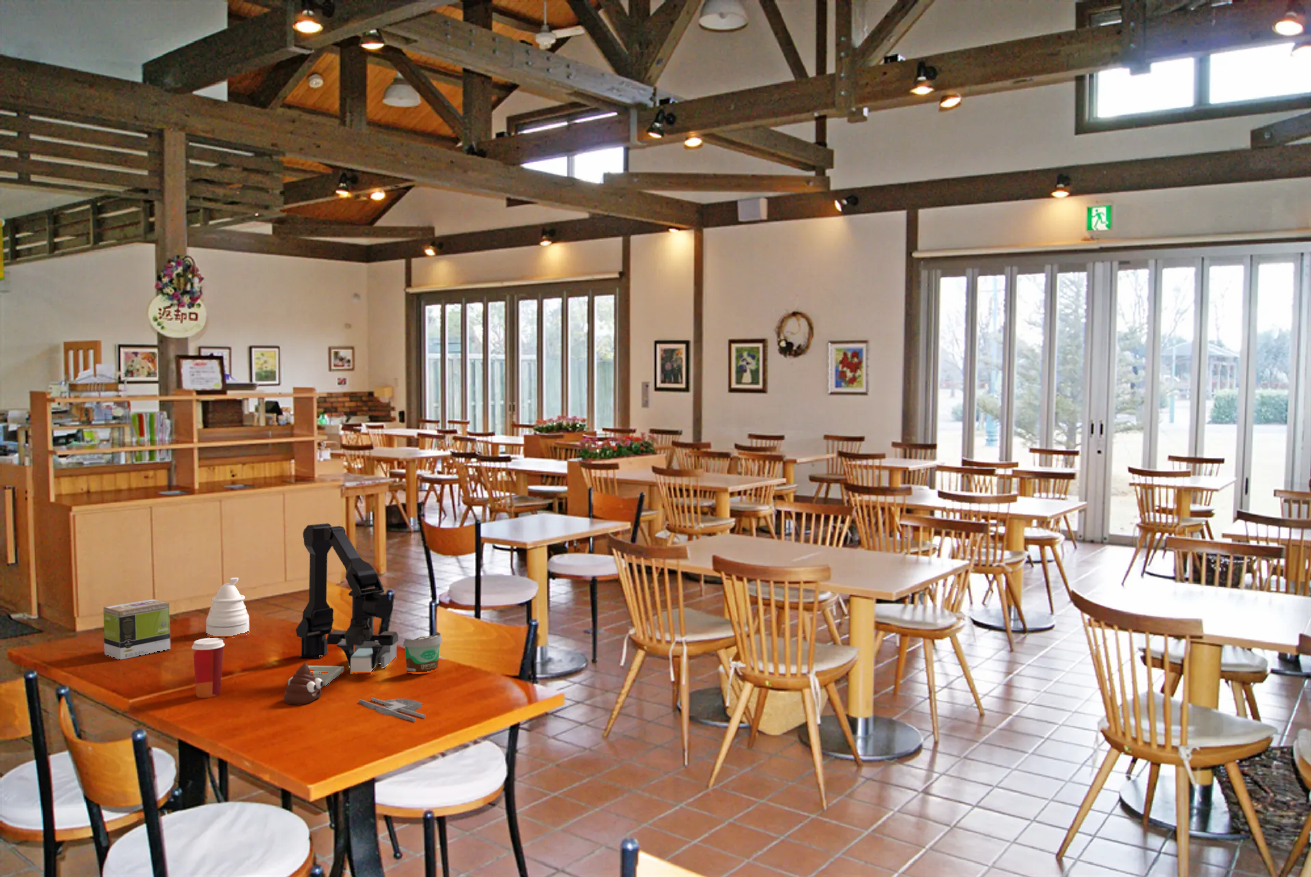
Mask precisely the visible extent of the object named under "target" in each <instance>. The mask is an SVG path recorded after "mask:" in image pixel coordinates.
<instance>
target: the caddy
mask: <svg viewBox="0 0 1311 877" xmlns="http://www.w3.org/2000/svg"><path fill="white" fill-rule="evenodd" d="M372 653H373V650H372V648H359V649H358V650H357V651H356V652H355V653H354V654H353V655H352V656H351V668H350V673H351V672H371V671H372V670H373V669H372ZM377 664H378V659H377V662H376V665H377ZM376 665H375V666H376ZM377 666H378V665H377ZM373 671H374V670H373Z"/></svg>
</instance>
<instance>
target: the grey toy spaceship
mask: <svg viewBox="0 0 1311 877" xmlns="http://www.w3.org/2000/svg"><path fill="white" fill-rule="evenodd" d="M371 700H372V701H371ZM374 701H375V702H374ZM372 702H374V703H372ZM377 702H378V703H377ZM375 703H377V704H375ZM358 704H359V705H362V706H364V707H366V708H368V709H371V710H375V712H377V713H378V714H382V715H385V716H392V717H395V718H399V719H403V720H405V721H407V720H408V721H410V722H413V723H415V722H416V717H419V718H421V719H426V714H425V713H424V714H423V713H420V712H417V710H418V709H421V708H423V706H424V704H423V703H422V702H419V701H417V700H413V699H411V698H410V699H409V698H408V699H407V698H395V699H387V700H385V699H384V700H382V699H377V698H376V697H375V698H374V697H373V696H372V697H371V698H370V702H369V701H367V700H363V699H361V698H359V699H358ZM379 704H380V705H379ZM383 704H384V705H383ZM422 704H423V705H422ZM381 705H383V706H381ZM400 712H401V713H400ZM410 715H412V716H415V717H412V716H410Z"/></svg>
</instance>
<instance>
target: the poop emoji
mask: <svg viewBox="0 0 1311 877" xmlns="http://www.w3.org/2000/svg"><path fill="white" fill-rule="evenodd" d="M308 666H309V665H308V663H307V662H304V663H303V664H302V665H301V666H300V667H299V668H298V669H297V670H296V671H295V673H294V674H293V676H292V677H293V678H292V679H291V680H290V684H289V685H288V684H287V686H286V688H285V693H284V695H283V699H284V700H283V701H284V702H285V703H286V704H287V705H293V706H301V705H302V704H303V705H307V704H310V703H312V702H313V701H315V700H317V699H319V698H321V696H322V690H321V688H322V687H323V682H322V680H321V679H320V678H316V679H315V677H314V676H313V673H311V672H310V669H309V667H308Z"/></svg>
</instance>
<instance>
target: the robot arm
mask: <svg viewBox="0 0 1311 877" xmlns="http://www.w3.org/2000/svg"><path fill="white" fill-rule="evenodd" d="M302 537H303V545H304V547H305V548H306V550H307V552H308V553H309V575H308V576H309V577H308V578H309V585H308V587H309V588H308V603H307V604H306V606H305V607H304V610H303V611H302V618H301V621H300V622H299V624H298V626H297V627H296V628H295V633H296V637H298V638H300V639H301V642H300V643H301V649H300V650H301V651H300V652H301V654H299V656H298V658H300V659H302V657H319V655H324V656H326V655H327V654H328V653H329V651H328V645H336V647H337V648H340V649H341V650H342V651H343V653H344V654H345V657H346V659H347V664H348V663H349V665H350V668H349V669H351V656H352V655H353V654H354V651H355V645H357V646H360V645H362V644H363V643H364V641H374V643H375V645H373V646H372V650H373V653H372V669H374V667H375V665H376V662H377V659H378V657H379V654H380V652H381V650H382V648H383V647H384V646H391V645H394V644H395V643H396V644H397V642H398V641H399V634H398V632H397V631H386V630H385V631H383V632H381V633H380V634H375V628H374V619H375V618H377V619H387V618H388V617H389V616H390V615H391V614H392V612H393V610H394V608H393V607H394V605H393V602H392V600H391V599H390V598H387V593H385V589H384V585H383V583H382V582H381V579H380V577H379V575H378V572H377V570H376V569H375V568H374V566H372V565H371V564H370V563H369V562H366V561H364V560H363V559H362V557H361V556H360V554H359V552H358V551H357V550H356V548H355V546H354V545H353V543H352V541H351V540H350V539H349V537H348V535H347V533H346V529H345V527H344V526H341V525H336V526H335V525H334V526H332V525H331V524H330V523H328V522H327V523H317V524H308V525H306V527H305V528H304V529H303V531H302ZM331 549H333V550H334V552H335V554H336V556H338V558H339V560H340V562H341V563H342V565H343V567H344V568H345V572H346V573H345V579H346V582H347V583H348V586H349V588H350V589H351V590H350V591H349V592H348V593H347V595H348V596H349V597H351V600H352V601H351V605H352V606H351V607H352V608H351V612H352V613H351V618H350V624H349V627H347V629H345V630H342V629H341V630H338V629H337V630H335V629H334V630H333V631H332V629H333V624H334V621H335V619H334V608H333V607H331V606H330V605H329V604H328V601H327V597H328V596H327V593H328V590H327V588H328V554H329V552H330V550H331ZM327 652H328V653H327ZM326 653H327V654H326ZM325 654H326V655H325ZM320 657H321V656H320ZM321 658H322V657H321ZM374 670H375V669H374Z"/></svg>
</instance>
